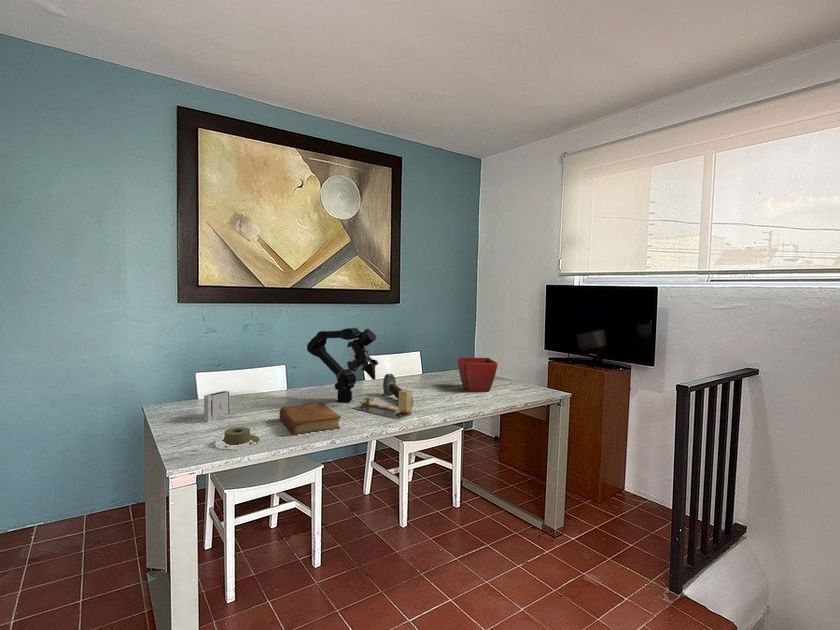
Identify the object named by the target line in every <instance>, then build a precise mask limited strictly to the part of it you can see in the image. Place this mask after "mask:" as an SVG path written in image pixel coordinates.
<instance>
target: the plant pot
mask: <svg viewBox="0 0 840 630" xmlns="http://www.w3.org/2000/svg"><path fill="white" fill-rule="evenodd" d="M498 364H499V363H498V362H496V361H495V360H492V359H491V358H489V357H457V366H458V367H457V368H458V372H459V376H460V377H459V378H460V381H461V385H462V387H463V388H464V389H465V391H467V392H490V390H491V388H492V386H493V384H494V379H495V377H496V373H497V369H498Z"/></svg>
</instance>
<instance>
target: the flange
mask: <svg viewBox="0 0 840 630" xmlns="http://www.w3.org/2000/svg"><path fill="white" fill-rule="evenodd" d="M223 432H224V442H225V443H226V444H229V445H239V444H244V443H247V442H249V441H250V440H252V441H253V442H256V443H257V442H258V441H259V440H260V439H261V438H260V437H259V436H257V435H254V434H251V430H250V428H249V427H244V426H243V427H242V426H241V427H239V426H238V427H232V428H228V429H226V430H225V431H223ZM259 442H260V441H259Z"/></svg>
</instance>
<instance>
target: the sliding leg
mask: <svg viewBox="0 0 840 630" xmlns="http://www.w3.org/2000/svg"><path fill="white" fill-rule="evenodd" d="M412 398H413V390H411V389H402V390H401V391H399V400H398V408H397V409H398V410H396V411H395V413H398V415H399V414H400V412H409V411H410V412H412V411H413V406H412Z"/></svg>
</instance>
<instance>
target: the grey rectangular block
mask: <svg viewBox="0 0 840 630" xmlns="http://www.w3.org/2000/svg"><path fill="white" fill-rule="evenodd" d="M203 399H204V400H203V409H204V410H203V411H204V412H203V414H204V415H203V418H206V420H205V421H209V420H210V419H211V418H214V417H218V416H221V415H225V414H228V413H229V414H230V391H228V390H225V391H224V390H222V391H218V392H212V393H208V394H205V395H204V396H203ZM229 414H228V415H229ZM209 422H210V421H209Z"/></svg>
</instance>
